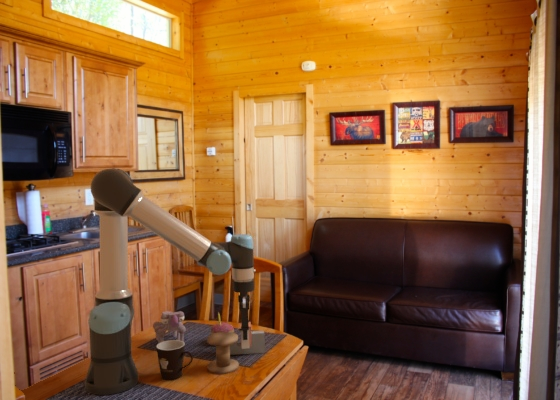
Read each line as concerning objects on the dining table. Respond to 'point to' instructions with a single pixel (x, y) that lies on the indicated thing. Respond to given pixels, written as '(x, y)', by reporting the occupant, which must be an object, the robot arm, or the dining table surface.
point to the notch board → (256, 344)
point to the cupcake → (221, 327)
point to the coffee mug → (171, 359)
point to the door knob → (222, 353)
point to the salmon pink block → (249, 334)
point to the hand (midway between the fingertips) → (245, 344)
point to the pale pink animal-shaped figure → (170, 325)
